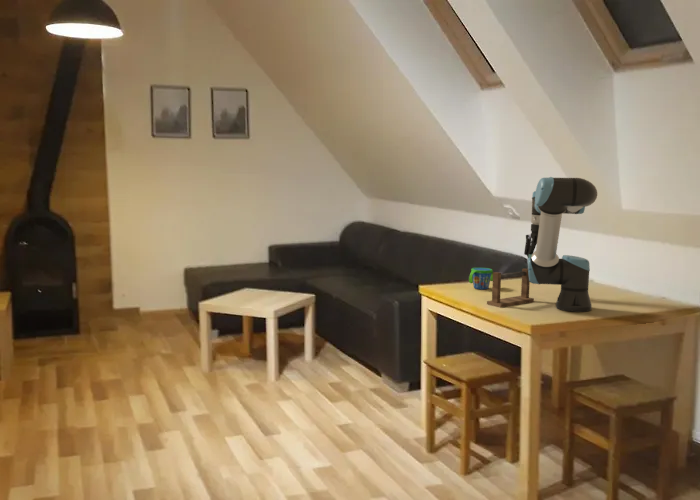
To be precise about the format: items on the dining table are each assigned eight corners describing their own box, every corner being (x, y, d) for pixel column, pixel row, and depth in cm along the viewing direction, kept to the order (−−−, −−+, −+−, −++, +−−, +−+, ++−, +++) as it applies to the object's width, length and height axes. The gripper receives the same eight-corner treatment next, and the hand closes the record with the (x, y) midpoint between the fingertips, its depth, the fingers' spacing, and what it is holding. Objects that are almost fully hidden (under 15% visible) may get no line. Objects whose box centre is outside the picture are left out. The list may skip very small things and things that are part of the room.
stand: (520, 298, 344) (521, 267, 342) (533, 301, 337) (535, 269, 335) (486, 304, 330) (488, 271, 328) (500, 307, 324) (501, 274, 322)
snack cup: (486, 285, 378) (487, 266, 376) (499, 289, 369) (500, 269, 367) (462, 288, 370) (463, 268, 369) (475, 291, 361) (476, 271, 360)
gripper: (517, 222, 352) (515, 269, 355) (551, 226, 336) (548, 274, 339) (527, 221, 356) (525, 267, 359) (561, 225, 340) (559, 273, 344)
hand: (536, 271), depth 349 cm, fingers closed on link, 7 cm apart
